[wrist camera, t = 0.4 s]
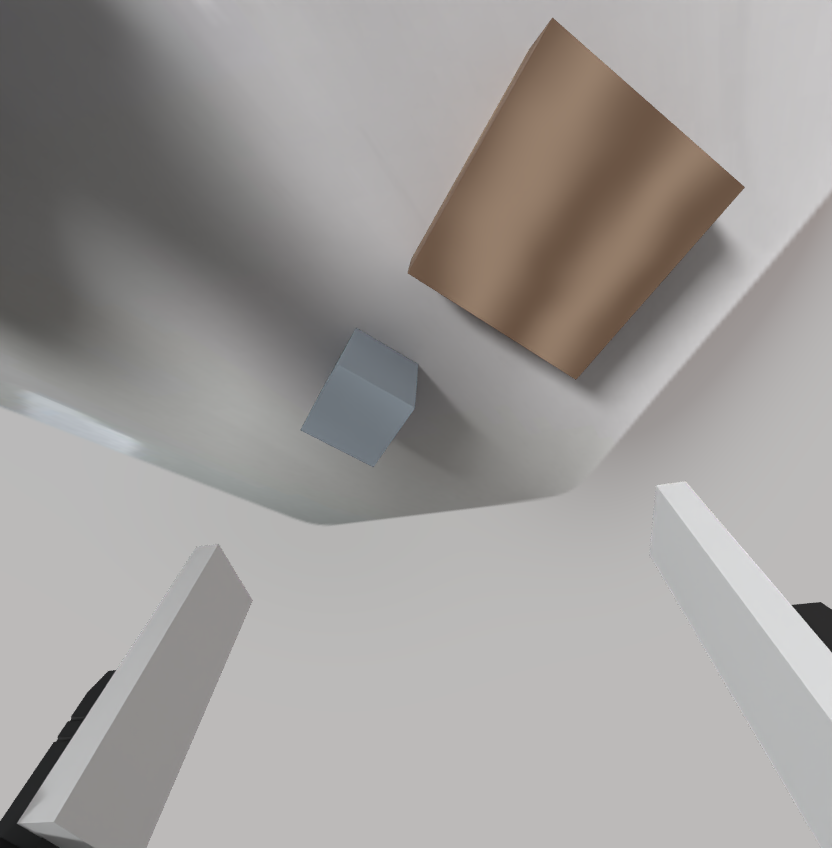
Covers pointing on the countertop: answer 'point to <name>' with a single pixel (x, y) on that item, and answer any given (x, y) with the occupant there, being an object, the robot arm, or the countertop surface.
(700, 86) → the countertop surface
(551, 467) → the countertop surface
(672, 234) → the walnut block
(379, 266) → the countertop surface
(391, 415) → the slate block
